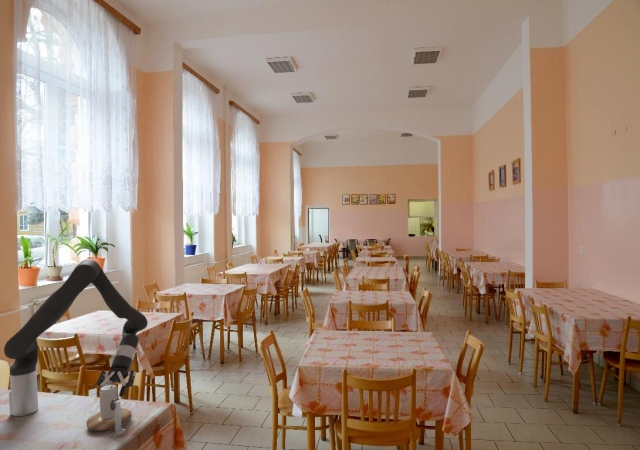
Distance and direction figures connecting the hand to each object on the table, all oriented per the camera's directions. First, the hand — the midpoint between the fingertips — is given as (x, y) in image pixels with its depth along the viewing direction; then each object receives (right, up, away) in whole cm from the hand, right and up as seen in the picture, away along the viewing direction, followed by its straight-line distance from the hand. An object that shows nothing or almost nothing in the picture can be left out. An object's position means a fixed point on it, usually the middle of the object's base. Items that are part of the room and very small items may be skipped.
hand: (110, 396), depth 172 cm
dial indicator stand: (+8, -10, -10) cm, 16 cm away
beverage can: (0, -8, -1) cm, 8 cm away
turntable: (0, -9, -1) cm, 9 cm away
